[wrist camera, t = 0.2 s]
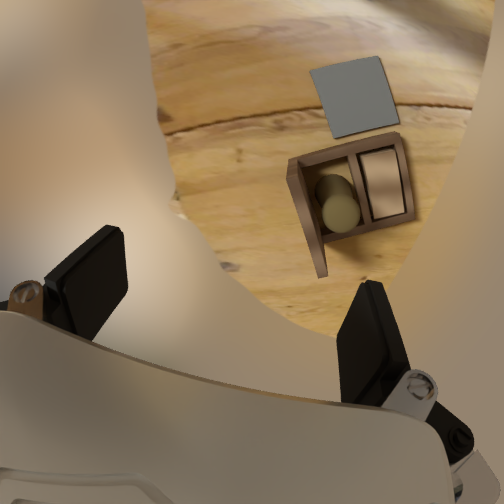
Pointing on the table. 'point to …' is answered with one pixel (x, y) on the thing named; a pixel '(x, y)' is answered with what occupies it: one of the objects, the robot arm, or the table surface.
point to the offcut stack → (382, 182)
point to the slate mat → (355, 96)
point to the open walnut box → (367, 223)
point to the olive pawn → (337, 203)
